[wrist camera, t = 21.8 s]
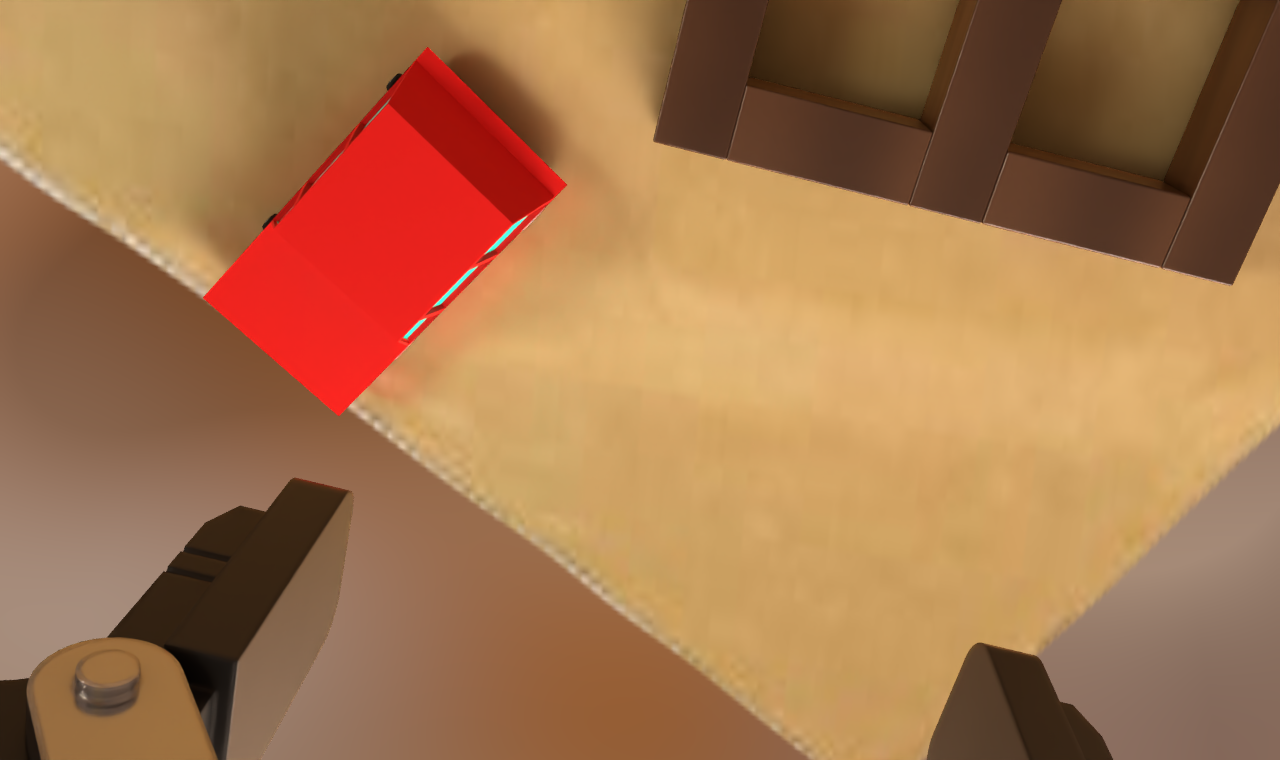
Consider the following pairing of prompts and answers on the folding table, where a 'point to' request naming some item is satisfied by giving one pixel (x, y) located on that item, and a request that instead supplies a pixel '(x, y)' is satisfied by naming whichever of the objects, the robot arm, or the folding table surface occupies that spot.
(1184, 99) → the folding table surface
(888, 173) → the peg board
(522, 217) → the toy car
